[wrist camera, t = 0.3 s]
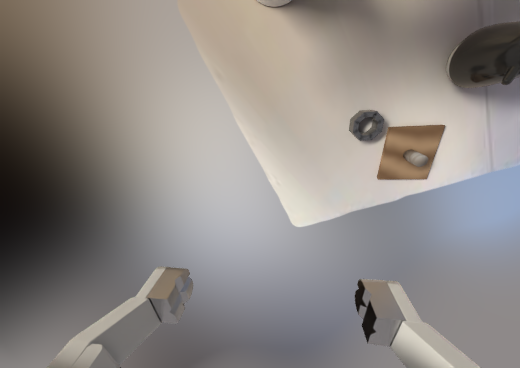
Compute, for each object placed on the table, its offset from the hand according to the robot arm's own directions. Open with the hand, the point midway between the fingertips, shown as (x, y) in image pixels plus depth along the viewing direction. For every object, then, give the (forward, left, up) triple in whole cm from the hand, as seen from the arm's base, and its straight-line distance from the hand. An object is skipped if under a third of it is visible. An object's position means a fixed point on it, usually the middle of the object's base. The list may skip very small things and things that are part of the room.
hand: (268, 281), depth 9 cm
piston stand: (+9, +32, -46) cm, 57 cm away
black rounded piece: (-11, +38, -47) cm, 61 cm away
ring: (+1, +20, -46) cm, 51 cm away
